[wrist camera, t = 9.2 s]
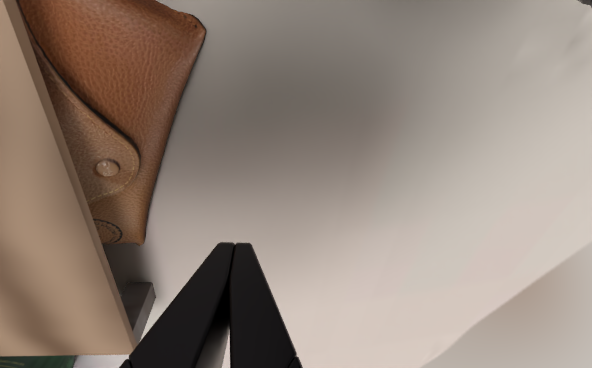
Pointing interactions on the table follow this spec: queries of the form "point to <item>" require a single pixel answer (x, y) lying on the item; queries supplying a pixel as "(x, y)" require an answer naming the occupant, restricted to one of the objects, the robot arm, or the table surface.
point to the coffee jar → (37, 361)
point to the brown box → (51, 228)
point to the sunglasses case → (114, 95)
